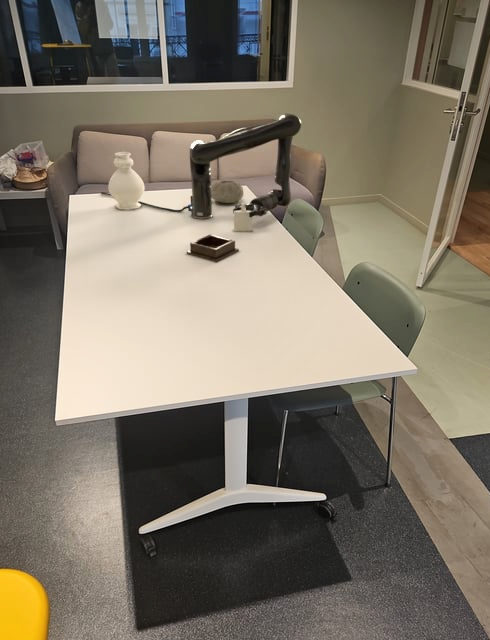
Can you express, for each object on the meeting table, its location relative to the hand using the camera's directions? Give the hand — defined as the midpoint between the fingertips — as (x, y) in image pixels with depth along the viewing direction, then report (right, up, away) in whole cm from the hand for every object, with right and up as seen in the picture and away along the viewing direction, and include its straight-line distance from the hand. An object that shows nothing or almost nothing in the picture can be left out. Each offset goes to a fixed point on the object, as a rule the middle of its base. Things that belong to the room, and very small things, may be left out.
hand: (241, 213), depth 222 cm
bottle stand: (-12, -22, -18) cm, 31 cm away
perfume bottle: (0, -6, +5) cm, 8 cm away
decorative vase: (-58, +15, +35) cm, 70 cm away
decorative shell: (-8, +21, +45) cm, 50 cm away
